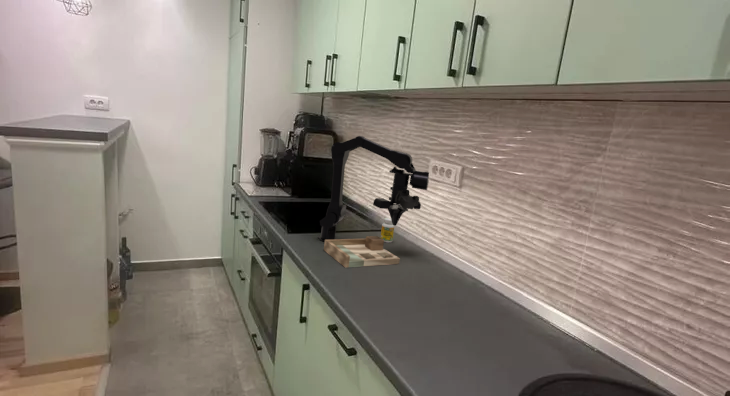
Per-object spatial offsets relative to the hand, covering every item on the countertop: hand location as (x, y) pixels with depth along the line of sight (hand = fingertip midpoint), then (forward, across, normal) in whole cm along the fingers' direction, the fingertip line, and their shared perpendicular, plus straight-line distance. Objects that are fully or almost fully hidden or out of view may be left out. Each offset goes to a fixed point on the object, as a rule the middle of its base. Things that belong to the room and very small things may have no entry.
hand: (394, 225), depth 157 cm
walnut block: (+9, -8, 0) cm, 12 cm away
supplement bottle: (+11, +7, +14) cm, 19 cm away
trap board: (+11, -15, -3) cm, 19 cm away
